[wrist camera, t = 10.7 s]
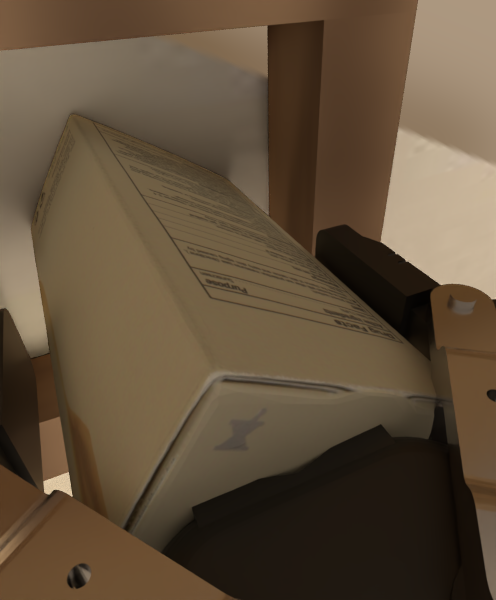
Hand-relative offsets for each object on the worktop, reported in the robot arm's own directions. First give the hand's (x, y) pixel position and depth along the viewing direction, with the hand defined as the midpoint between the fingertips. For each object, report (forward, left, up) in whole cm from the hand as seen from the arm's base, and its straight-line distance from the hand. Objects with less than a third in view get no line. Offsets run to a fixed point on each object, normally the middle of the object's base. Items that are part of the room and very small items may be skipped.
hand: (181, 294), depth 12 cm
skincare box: (0, 0, -6) cm, 6 cm away
